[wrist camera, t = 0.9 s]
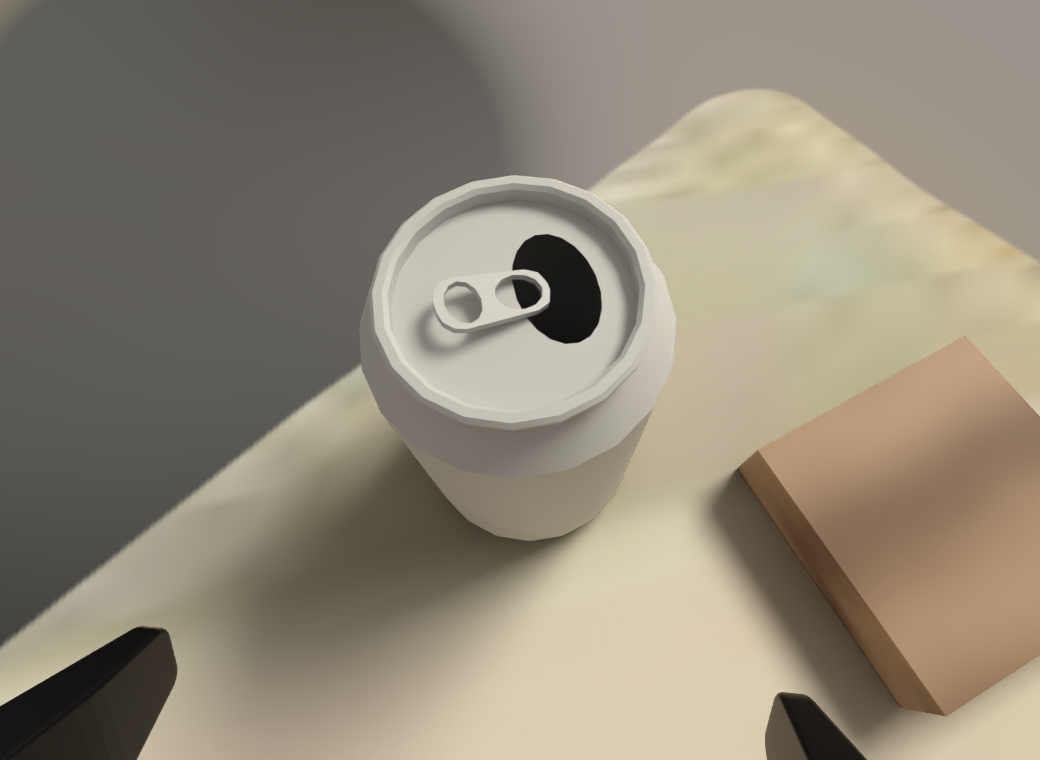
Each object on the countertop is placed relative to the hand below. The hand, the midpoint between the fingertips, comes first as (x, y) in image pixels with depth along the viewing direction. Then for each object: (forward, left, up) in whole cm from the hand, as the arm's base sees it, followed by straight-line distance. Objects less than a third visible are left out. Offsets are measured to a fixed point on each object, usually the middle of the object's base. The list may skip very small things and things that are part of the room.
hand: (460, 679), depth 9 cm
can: (+6, -4, -13) cm, 15 cm away
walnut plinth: (-3, -15, -13) cm, 20 cm away
